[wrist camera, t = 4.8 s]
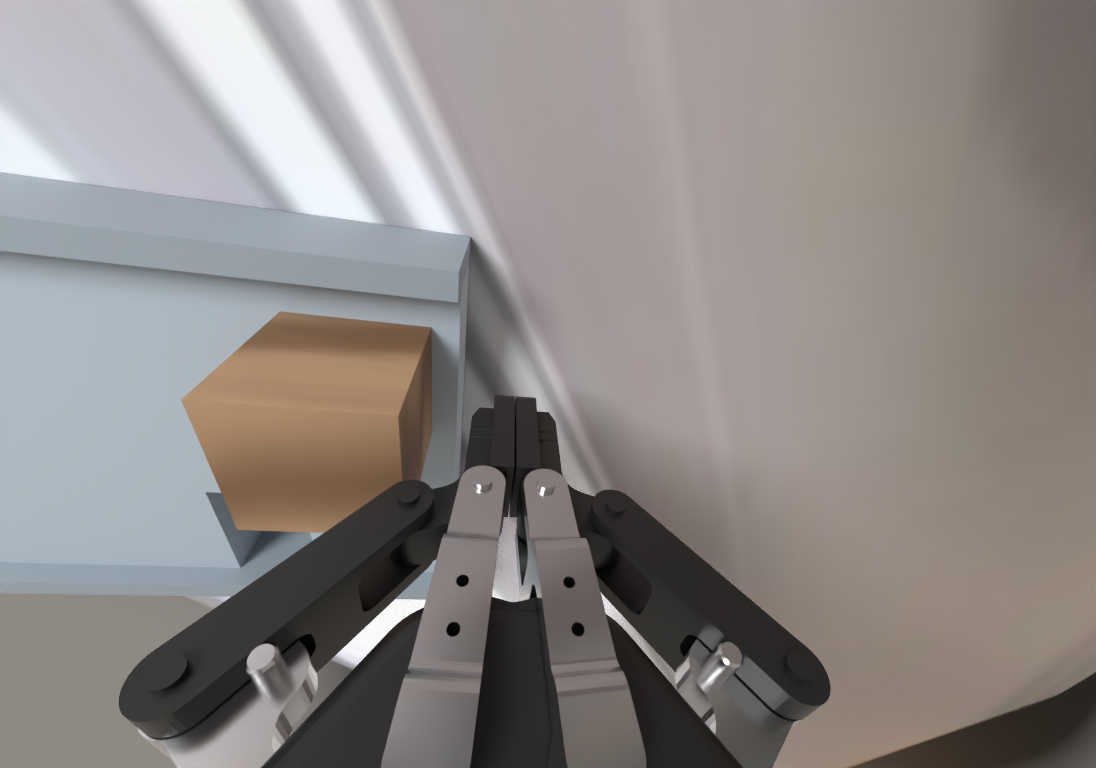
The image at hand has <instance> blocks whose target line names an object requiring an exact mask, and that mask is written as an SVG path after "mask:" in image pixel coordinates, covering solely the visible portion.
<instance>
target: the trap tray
mask: <svg viewBox="0 0 1096 768" xmlns="http://www.w3.org/2000/svg"><path fill="white" fill-rule="evenodd" d="M470 239H471V237H470V236H462V235H455V234H448V233H440V232H433V231H426V230H418V229H411V228H404V227H396V226H389V225H382V224H374V223H367V222H360V221H352V220H345V219H338V218H330V217H323V216H316V215H308V214H301V213H294V212H286V211H279V210H272V209H264V208H257V207H250V206H242V205H235V204H228V203H220V202H213V201H206V200H198V199H191V198H184V197H176V196H169V195H162V194H154V193H147V192H139V191H132V190H125V189H117V188H110V187H103V186H95V185H88V184H81V183H73V182H66V181H59V180H51V179H44V178H37V177H29V176H22V175H15V174H7V173H0V593H26V594H27V593H29V594H32V593H33V594H94V595H96V594H98V595H99V594H100V595H163V596H164V595H165V596H229V597H232V596H234V595H235V594H236V593H238V592H239V591H241V590H242V589H244V588H245V587H246V586H248V585H249V584H251V583H252V582H254V581H255V580H257V579H258V578H259V577H261V576H262V575H264V574H265V573H267V572H268V571H270V570H271V569H272V568H274V567H275V566H277V565H278V564H280V563H281V562H283V561H284V560H285V559H287V558H288V557H290V556H291V555H293V554H294V553H296V552H297V551H298V550H300V549H301V548H303V547H304V546H306V545H307V544H309V543H310V542H311V541H313V540H314V539H316V538H317V537H319V536H320V535H322V534H323V533H312V532H284V531H256V530H237V528H236V525H235V523H234V521H233V519H232V516H231V514H230V512H229V509H228V507H227V505H226V502H225V500H224V498H223V496H222V493H221V491H220V489H219V486H218V484H217V482H216V479H215V477H214V475H213V473H212V470H211V468H210V466H209V463H208V461H207V459H206V456H205V454H204V452H203V449H202V447H201V445H200V443H199V440H198V438H197V436H196V433H195V431H194V429H193V426H192V424H191V422H190V420H189V417H188V415H187V413H186V410H185V408H184V406H183V403H182V401H181V399H182V398H183V397H185V396H186V395H187V394H188V393H189V392H190V391H191V390H192V389H194V388H195V387H196V386H197V385H198V384H199V383H200V382H201V381H203V380H204V379H205V378H206V377H207V376H208V375H209V374H210V373H211V372H213V371H214V370H215V369H216V368H217V367H218V366H219V365H220V364H222V363H223V362H224V361H225V360H226V359H227V358H228V357H229V356H231V355H232V354H233V353H234V352H235V351H236V350H237V349H238V348H239V347H241V346H242V345H243V344H244V343H245V342H246V341H247V340H248V339H250V338H251V337H252V336H253V335H254V334H255V333H256V332H257V331H259V330H260V329H261V328H262V327H263V326H264V325H265V324H266V323H267V322H269V321H270V320H271V319H272V318H273V317H274V316H275V315H276V314H278V313H279V312H280V311H281V312H291V313H300V314H310V315H319V316H329V317H338V318H348V319H358V320H367V321H377V322H386V323H396V324H405V325H415V326H425V327H431V355H432V435H431V439H430V443H429V447H428V451H427V455H426V459H425V463H424V467H423V471H422V475H421V479H420V481H422V482H425V483H426V484H428V485H429V486H430V487H431V488H432V489H434V488H439V487H443V486H447V485H449V484H452V483H453V482H455V481H456V480H458V479H459V478H460V460H461V438H462V416H463V393H464V371H465V349H466V327H467V305H468V283H469V261H470ZM435 563H436V560H433V562H432V564H431V565H430V566H429V567H428V569H426V570H425V571H424V572H423V573H422V574H421V575H420V576H419V577H418V578H417V579H416V580H415V581H414V582H413V583H412V584H410V585H409V586H408V587H407V588H406V589H405V590H404V591H403V592H402V593H401V594H400V595H399V596H398V597H397V598H396V599H426V598H427V594H428V590H429V587H430V583H431V579H432V575H433V571H434V567H435Z"/></svg>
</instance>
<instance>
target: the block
mask: <svg viewBox="0 0 1096 768" xmlns="http://www.w3.org/2000/svg"><path fill="white" fill-rule="evenodd" d="M181 401H182V403H183V406H184V408H185V410H186V413H187V415H188V417H189V420H190V422H191V424H192V426H193V429H194V431H195V433H196V436H197V438H198V440H199V443H200V445H201V447H202V449H203V452H204V454H205V456H206V459H207V461H208V463H209V466H210V468H211V470H212V473H213V475H214V477H215V479H216V482H217V484H218V486H219V489H220V491H221V493H222V496H223V498H224V500H225V502H226V505H227V507H228V509H229V512H230V514H231V516H232V519H233V521H234V523H235V525H236V528H237V530H256V531H284V532H312V533H324V532H326V531H327V530H329V529H330V528H332V527H333V526H335V525H336V524H337V523H339V522H340V521H342V520H343V519H345V518H346V517H348V516H349V515H350V514H352V513H353V512H355V511H356V510H358V509H359V508H361V507H362V506H363V505H365V504H366V503H368V502H369V501H371V500H372V499H374V498H375V497H376V496H378V495H379V494H381V493H382V492H384V491H385V490H387V489H388V488H389V487H391V486H392V485H394V484H396V483H398V482H400V481H404V480H419V481H420V479H421V475H422V471H423V467H424V463H425V459H426V455H427V451H428V447H429V443H430V439H431V435H432V355H431V327H425V326H415V325H405V324H396V323H386V322H377V321H367V320H358V319H348V318H338V317H329V316H319V315H310V314H300V313H291V312H281V311H280V312H279V313H278V314H276V315H275V316H274V317H273V318H272V319H271V320H270V321H269V322H267V323H266V324H265V325H264V326H263V327H262V328H261V329H260V330H259V331H257V332H256V333H255V334H254V335H253V336H252V337H251V338H250V339H248V340H247V341H246V342H245V343H244V344H243V345H242V346H241V347H239V348H238V349H237V350H236V351H235V352H234V353H233V354H232V355H231V356H229V357H228V358H227V359H226V360H225V361H224V362H223V363H222V364H220V365H219V366H218V367H217V368H216V369H215V370H214V371H213V372H211V373H210V374H209V375H208V376H207V377H206V378H205V379H204V380H203V381H201V382H200V383H199V384H198V385H197V386H196V387H195V388H194V389H192V390H191V391H190V392H189V393H188V394H187V395H186V396H185V397H183V398H182V399H181Z"/></svg>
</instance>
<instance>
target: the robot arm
mask: <svg viewBox="0 0 1096 768" xmlns="http://www.w3.org/2000/svg"><path fill="white" fill-rule="evenodd" d="M509 503H510V517H517V529H516V535H515V544H516V556H517V568H518V580H519V594H520V600H519V602H508V601H505V600H501V599H498V598H494V597H492V590H493V582H494V574H495V566H496V558H497V550H498V542H499V536H500V535H501V532H502V526H503V518H504V517H508V511H509ZM433 560H436V563H435V567H434V571H433V575H432V579H431V583H430V587H429V590H428V594H427V598H426V602H425V606H424V608H422V609H420V610H418V611H416V612H414V613H412V614H410V615H409V616H407V617H406V618H404V619H403V620H402V621H400V622H399V623H398V624H397V625H396V626H395V627H393V628H392V629H391V630H390V631H389V632H388V633H387V635H386V636H385V637H384V638H383V639H382V640H381V641H380V642H379V643H378V644H377V645H376V646H375V647H374V648H373V649H372V650H371V651H370V653H369V654H368V655H367V656H366V657H365V658H364V659H363V660H362V661H361V662H360V663H359V664H358V665H357V666H356V667H355V668H354V669H353V671H352V672H351V673H350V674H349V675H348V676H347V677H346V678H345V679H344V680H343V681H342V682H341V683H340V684H339V685H338V686H337V687H336V688H335V690H334V691H333V692H332V693H331V694H330V695H329V696H328V697H327V698H326V699H325V700H324V701H323V702H322V703H321V704H320V705H319V707H318V708H317V709H316V710H315V711H314V712H313V713H312V714H311V715H310V716H309V717H308V718H307V719H306V720H305V721H304V722H303V723H302V724H301V726H300V727H299V728H298V729H297V730H296V731H295V732H294V733H293V734H292V735H291V736H290V737H289V735H290V733H291V731H292V729H293V728H294V726H295V725H296V723H297V722H298V721H299V719H300V718H301V717H302V716H303V714H304V713H305V712H306V711H307V709H308V708H309V706H310V705H311V703H312V701H313V699H314V697H315V694H316V691H317V684H318V679H317V674H316V673H317V672H318V671H319V670H320V669H321V668H322V667H323V666H324V665H325V664H326V663H327V662H329V661H330V660H331V659H332V658H333V657H334V656H335V655H336V654H337V653H338V652H339V651H340V650H341V649H342V648H343V647H345V646H346V645H347V644H348V643H349V642H350V641H351V640H352V639H353V638H354V637H355V636H356V635H357V634H358V633H359V632H360V631H362V630H363V629H364V628H365V627H366V626H367V625H368V624H369V623H370V622H371V621H372V620H373V619H374V618H375V617H376V616H378V615H379V614H380V613H381V612H382V611H383V610H384V609H385V608H386V607H387V606H388V605H389V604H390V603H391V602H392V601H393V600H395V599H396V598H397V597H398V596H399V595H400V594H401V593H402V592H403V591H404V590H405V589H406V588H407V587H408V586H409V585H410V584H412V583H413V582H414V581H415V580H416V579H417V578H418V577H419V576H420V575H421V574H422V573H423V572H424V571H425V570H426V569H428V567H429V566H430V565H431V564H432V562H433ZM600 592H601V593H602V594H603V595H604V596H605V597H606V598H607V599H608V600H609V602H610V603H611V604H612V605H613V606H614V607H615V608H616V609H617V610H618V611H619V612H620V613H621V614H622V615H623V616H624V618H625V619H626V620H627V621H628V622H629V623H630V624H631V625H632V626H633V627H634V628H635V629H636V630H637V631H638V633H639V634H640V635H641V636H642V637H643V638H644V639H645V640H646V641H647V642H648V643H649V644H650V645H651V646H652V648H653V649H654V650H655V651H656V652H657V653H658V654H659V655H660V656H661V657H662V658H663V659H664V660H665V661H666V662H667V664H668V665H669V666H670V667H671V668H672V669H673V670H674V671H675V672H676V674H675V681H676V686H677V690H678V691H677V690H676V689H675V688H674V687H673V685H672V684H671V683H670V682H669V681H668V680H667V678H666V677H665V676H664V675H663V674H662V673H661V671H660V670H659V669H658V668H657V667H656V666H655V665H654V663H653V662H652V661H651V660H650V659H649V658H648V656H647V655H646V654H645V653H644V652H643V651H642V649H641V648H640V647H639V646H638V645H637V644H636V643H635V641H634V640H633V639H632V638H631V637H630V636H629V634H628V633H627V632H626V631H625V630H624V629H623V628H622V627H621V626H620V625H619V624H618V623H617V622H616V621H615V620H613V619H612V618H611V617H609V616H608V615H606V613H605V609H604V605H603V601H602V597H601V593H600ZM829 696H830V682H829V678H828V675H827V673H826V671H825V669H824V667H823V665H822V664H821V662H820V661H819V659H818V658H817V657H816V656H815V655H814V654H813V653H812V652H811V651H810V650H809V649H808V648H807V647H806V646H805V645H803V644H802V643H801V642H800V641H799V640H798V639H796V638H795V637H794V636H793V635H792V634H790V633H789V632H788V631H787V630H786V629H785V628H783V627H782V626H781V625H780V624H779V623H777V622H776V621H775V620H774V619H773V618H772V617H770V616H769V615H768V614H767V613H766V612H764V611H763V610H762V609H761V608H760V607H759V606H757V605H756V604H755V603H754V602H753V601H751V600H750V599H749V598H748V597H747V596H746V595H744V594H743V593H742V592H741V591H740V590H738V589H737V588H736V587H735V586H734V585H733V584H731V583H730V582H729V581H728V580H727V579H725V578H724V577H723V576H722V575H721V574H720V573H718V572H717V571H716V570H715V569H714V568H712V567H711V566H710V565H709V564H708V563H707V562H705V561H704V560H703V559H702V558H701V557H699V556H698V555H697V554H696V553H695V552H694V551H692V550H691V549H690V548H689V547H688V546H686V545H685V544H684V543H683V542H682V541H681V540H679V539H678V538H677V537H676V536H675V535H673V534H672V533H671V532H670V531H669V530H667V529H666V528H665V527H664V526H663V525H662V524H660V523H659V522H658V521H657V520H656V519H654V518H653V517H652V516H651V515H650V514H649V513H647V512H646V511H645V510H644V509H643V508H641V507H640V506H639V505H638V504H637V503H636V502H634V501H633V500H632V499H631V498H630V497H628V496H627V495H626V494H624V493H622V492H619V491H616V490H603V491H601V492H599V493H597V494H596V495H595V497H594V496H591V495H587V494H584V493H581V492H579V491H577V490H575V489H573V488H572V487H571V486H569V485H568V484H567V482H566V480H565V479H564V477H563V476H562V471H561V463H560V455H559V447H558V439H557V431H556V423H555V421H554V419H553V418H552V416H551V415H550V414H549V412H537V408H536V398H530V397H517V396H516V399H515V396H503V395H495V401H494V409H492V408H479V409H478V410H477V411H476V412H475V414H474V415H473V416H472V422H471V430H470V437H469V444H468V451H467V459H466V466H465V470H464V473H463V474H462V476H461V477H460V478H459V479H458V480H456V481H455V482H453V483H452V484H449V485H447V486H443V487H439V488H434V489H432V488H431V487H430V486H429V485H428V484H426V483H425V482H422V481H419V480H404V481H400V482H398V483H396V484H394V485H392V486H391V487H389V488H388V489H387V490H385V491H384V492H382V493H381V494H379V495H378V496H376V497H375V498H374V499H372V500H371V501H369V502H368V503H366V504H365V505H363V506H362V507H361V508H359V509H358V510H356V511H355V512H353V513H352V514H350V515H349V516H348V517H346V518H345V519H343V520H342V521H340V522H339V523H337V524H336V525H335V526H333V527H332V528H330V529H329V530H327V531H326V532H324V533H323V534H322V535H320V536H319V537H317V538H316V539H314V540H313V541H311V542H310V543H309V544H307V545H306V546H304V547H303V548H301V549H300V550H298V551H297V552H296V553H294V554H293V555H291V556H290V557H288V558H287V559H285V560H284V561H283V562H281V563H280V564H278V565H277V566H275V567H274V568H272V569H271V570H270V571H268V572H267V573H265V574H264V575H262V576H261V577H259V578H258V579H257V580H255V581H254V582H252V583H251V584H249V585H248V586H246V587H245V588H244V589H242V590H241V591H239V592H238V593H236V594H235V595H234V596H232V597H231V598H229V599H228V600H226V601H225V602H223V603H222V604H221V605H219V606H218V607H216V608H215V609H213V610H212V611H211V612H209V613H208V614H206V615H205V616H203V617H202V618H200V619H199V620H198V621H196V622H195V623H193V624H192V625H190V626H189V627H187V628H186V629H185V630H183V631H182V632H180V633H179V634H177V635H176V636H174V637H173V638H172V639H170V640H169V641H167V642H166V643H164V644H163V645H161V646H160V647H159V648H157V649H156V650H154V651H153V652H151V653H150V654H149V655H147V656H146V657H145V658H144V659H143V660H142V661H141V662H140V663H139V664H138V665H137V666H136V667H135V668H134V669H133V671H132V672H131V673H130V675H129V676H128V678H127V679H126V681H125V683H124V685H123V687H122V689H121V692H120V696H119V708H120V711H121V713H122V714H123V715H124V716H125V717H126V718H127V719H128V720H129V721H130V722H132V723H133V724H134V725H135V726H136V727H137V728H138V731H139V733H140V734H141V735H142V736H143V737H144V738H145V739H146V740H148V741H149V742H150V743H151V744H152V745H154V746H155V747H156V748H157V749H158V750H160V751H161V752H162V753H163V754H164V755H166V756H168V757H170V758H171V759H172V760H173V762H174V764H175V765H176V767H177V768H772V767H773V765H774V763H775V761H776V759H777V756H778V754H779V752H780V750H781V748H782V746H783V744H784V741H785V739H786V737H787V735H788V733H789V731H790V729H791V728H792V727H793V726H794V725H796V724H797V723H798V722H800V721H801V720H802V719H804V718H805V717H806V716H808V715H809V714H811V713H812V712H813V711H815V710H816V709H817V708H819V707H820V706H821V705H823V704H824V703H825V702H826V701H827V700H828V698H829Z"/></svg>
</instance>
